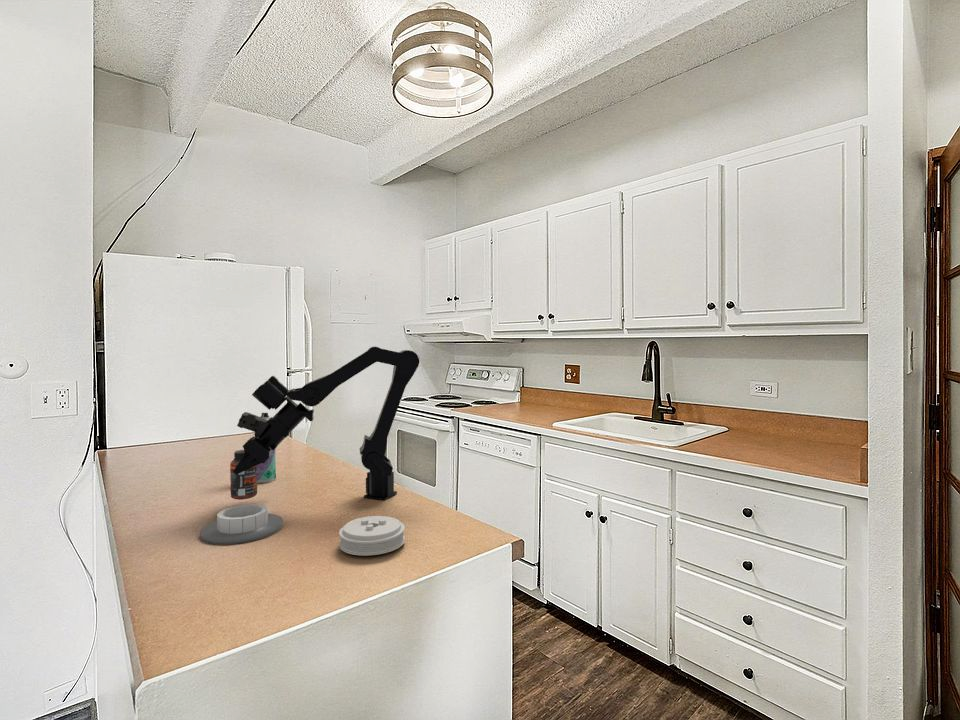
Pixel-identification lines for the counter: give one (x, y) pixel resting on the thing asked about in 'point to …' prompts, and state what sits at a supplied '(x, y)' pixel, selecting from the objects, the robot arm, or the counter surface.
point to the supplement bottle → (242, 479)
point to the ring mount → (241, 525)
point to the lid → (371, 535)
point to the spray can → (267, 464)
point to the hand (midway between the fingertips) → (237, 470)
